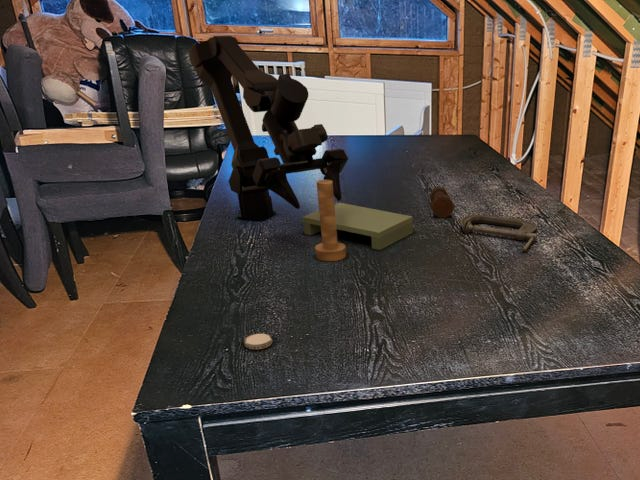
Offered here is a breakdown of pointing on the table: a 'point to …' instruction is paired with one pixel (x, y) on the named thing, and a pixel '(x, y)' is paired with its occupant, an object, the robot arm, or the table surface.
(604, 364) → the table surface
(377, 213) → the shelf
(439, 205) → the bolt
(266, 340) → the tan bottle cap
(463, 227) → the c clamp
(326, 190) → the wooden peg stand
